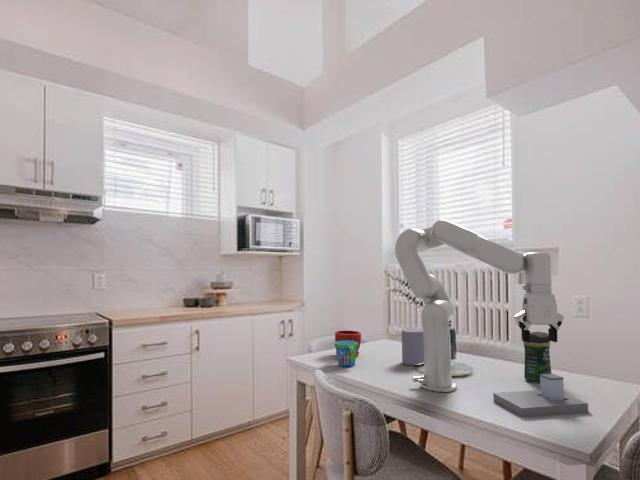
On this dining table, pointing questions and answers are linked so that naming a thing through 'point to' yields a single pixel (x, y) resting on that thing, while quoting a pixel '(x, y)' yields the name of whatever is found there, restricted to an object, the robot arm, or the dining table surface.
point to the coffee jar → (537, 356)
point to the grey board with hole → (538, 403)
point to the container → (412, 346)
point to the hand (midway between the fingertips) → (539, 341)
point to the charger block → (552, 387)
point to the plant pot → (348, 337)
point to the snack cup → (346, 352)
